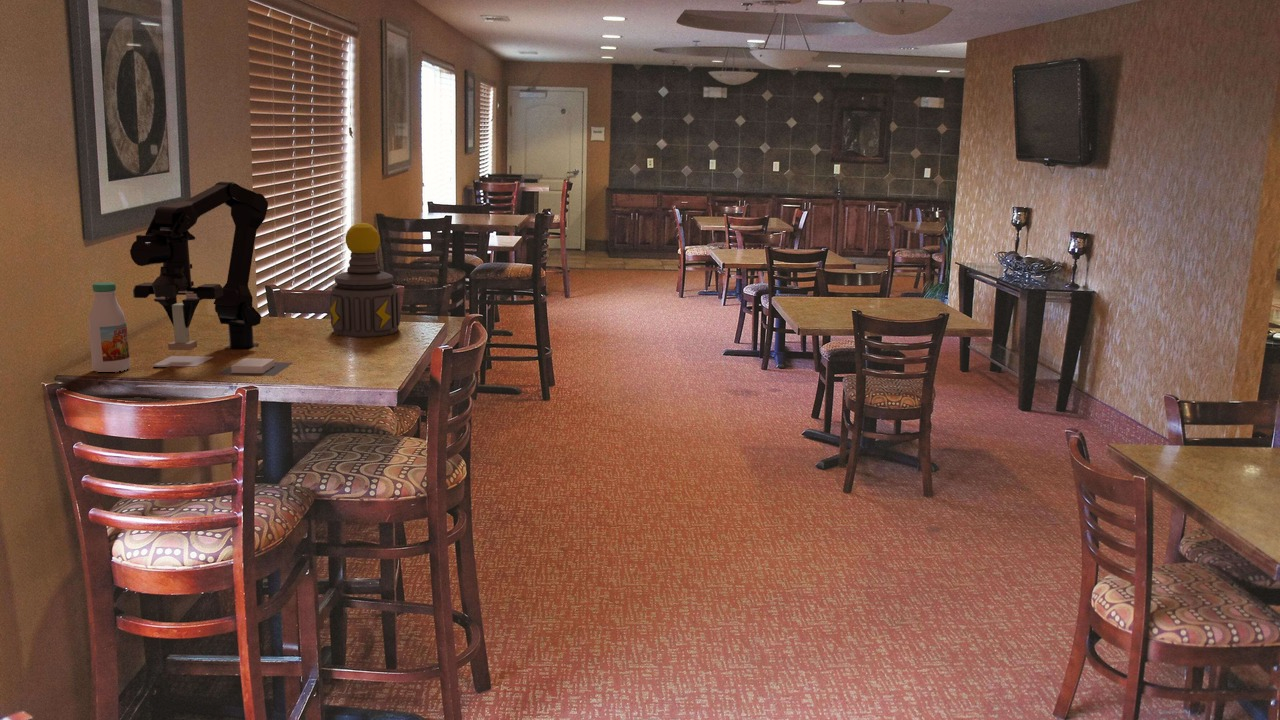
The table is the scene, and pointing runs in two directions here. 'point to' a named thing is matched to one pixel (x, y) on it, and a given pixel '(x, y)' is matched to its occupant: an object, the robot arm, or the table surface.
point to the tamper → (180, 330)
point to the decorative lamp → (364, 290)
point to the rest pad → (182, 361)
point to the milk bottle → (108, 331)
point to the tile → (253, 366)
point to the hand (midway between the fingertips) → (181, 327)
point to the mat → (271, 372)
